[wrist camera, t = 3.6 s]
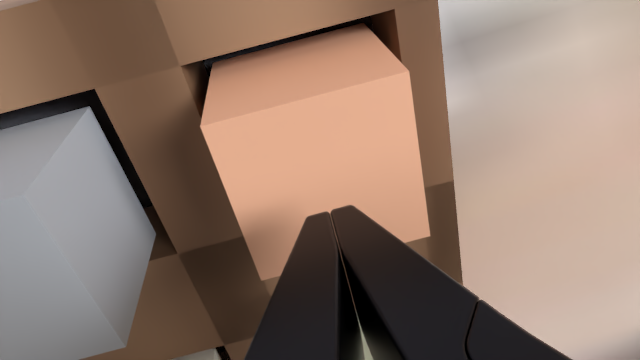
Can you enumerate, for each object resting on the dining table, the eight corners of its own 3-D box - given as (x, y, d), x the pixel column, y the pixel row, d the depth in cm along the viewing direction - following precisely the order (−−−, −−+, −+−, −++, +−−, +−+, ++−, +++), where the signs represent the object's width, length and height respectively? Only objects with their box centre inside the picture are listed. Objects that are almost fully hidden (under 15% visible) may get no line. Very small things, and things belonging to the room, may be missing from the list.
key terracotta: (363, 22, 12) (409, 70, 9) (386, 155, 14) (430, 236, 11) (212, 62, 12) (200, 126, 9) (257, 189, 14) (261, 280, 11)
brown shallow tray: (390, -103, 12) (428, -104, 10) (446, 346, 22) (473, 406, 19) (-136, 36, 12) (-236, 73, 10) (148, 425, 22) (135, 495, 19)
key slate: (89, 106, 11) (23, 194, 8) (156, 233, 14) (125, 347, 10) (-72, 148, 11) (-207, 255, 8) (19, 269, 14) (-56, 395, 10)
